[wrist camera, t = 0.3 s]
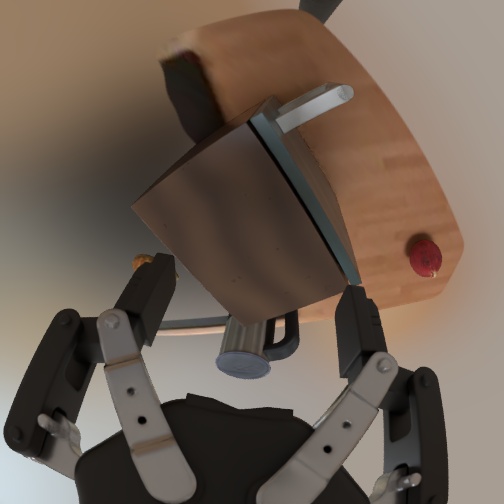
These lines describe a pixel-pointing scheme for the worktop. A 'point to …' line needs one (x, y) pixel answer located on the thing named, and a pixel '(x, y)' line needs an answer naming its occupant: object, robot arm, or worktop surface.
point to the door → (309, 162)
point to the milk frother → (256, 346)
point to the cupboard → (242, 226)
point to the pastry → (142, 259)
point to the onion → (426, 258)
